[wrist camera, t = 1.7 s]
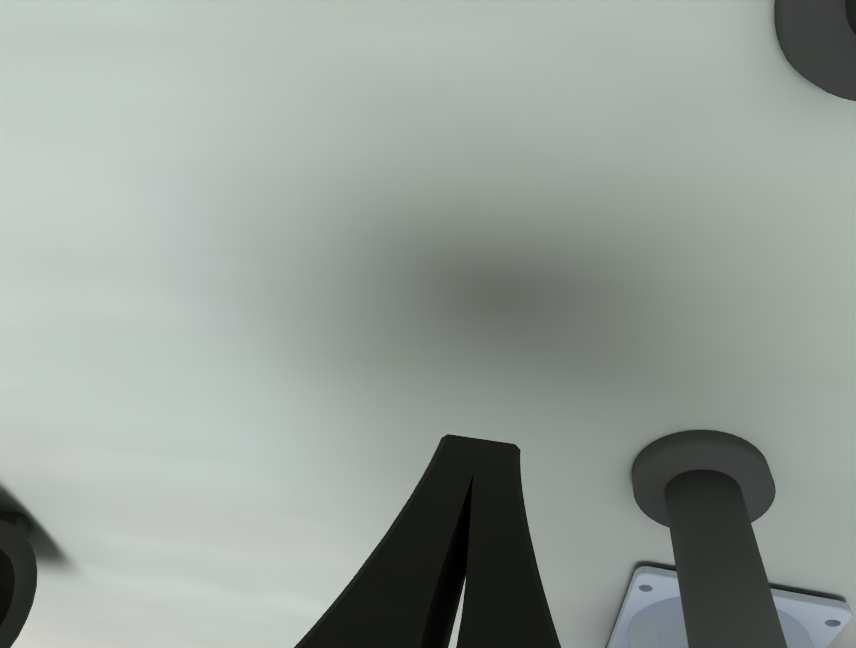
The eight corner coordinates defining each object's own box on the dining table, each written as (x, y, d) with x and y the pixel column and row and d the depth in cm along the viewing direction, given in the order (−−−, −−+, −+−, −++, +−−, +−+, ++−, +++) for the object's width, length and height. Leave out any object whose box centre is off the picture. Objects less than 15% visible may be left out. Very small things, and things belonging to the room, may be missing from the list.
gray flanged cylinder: (745, 523, 21) (821, 791, 14) (621, 503, 21) (641, 749, 15) (788, 441, 18) (904, 722, 12) (645, 421, 19) (682, 675, 12)
